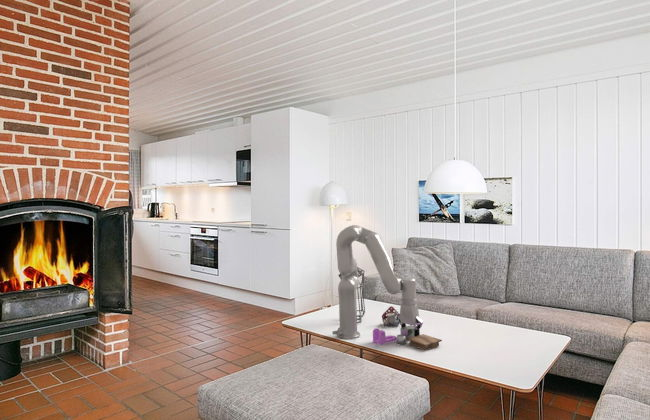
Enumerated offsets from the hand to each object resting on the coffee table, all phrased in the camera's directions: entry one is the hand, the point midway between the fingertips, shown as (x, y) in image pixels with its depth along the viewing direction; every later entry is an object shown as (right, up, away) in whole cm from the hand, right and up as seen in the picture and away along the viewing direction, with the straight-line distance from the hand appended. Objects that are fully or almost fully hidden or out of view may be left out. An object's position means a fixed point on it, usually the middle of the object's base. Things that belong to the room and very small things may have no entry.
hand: (410, 334), depth 221 cm
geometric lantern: (-28, -3, +36) cm, 46 cm away
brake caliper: (-6, -2, +25) cm, 26 cm away
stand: (+5, -2, -11) cm, 12 cm away
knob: (-6, -2, -7) cm, 10 cm away
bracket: (-13, -3, -3) cm, 14 cm away
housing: (0, -2, 0) cm, 2 cm away
